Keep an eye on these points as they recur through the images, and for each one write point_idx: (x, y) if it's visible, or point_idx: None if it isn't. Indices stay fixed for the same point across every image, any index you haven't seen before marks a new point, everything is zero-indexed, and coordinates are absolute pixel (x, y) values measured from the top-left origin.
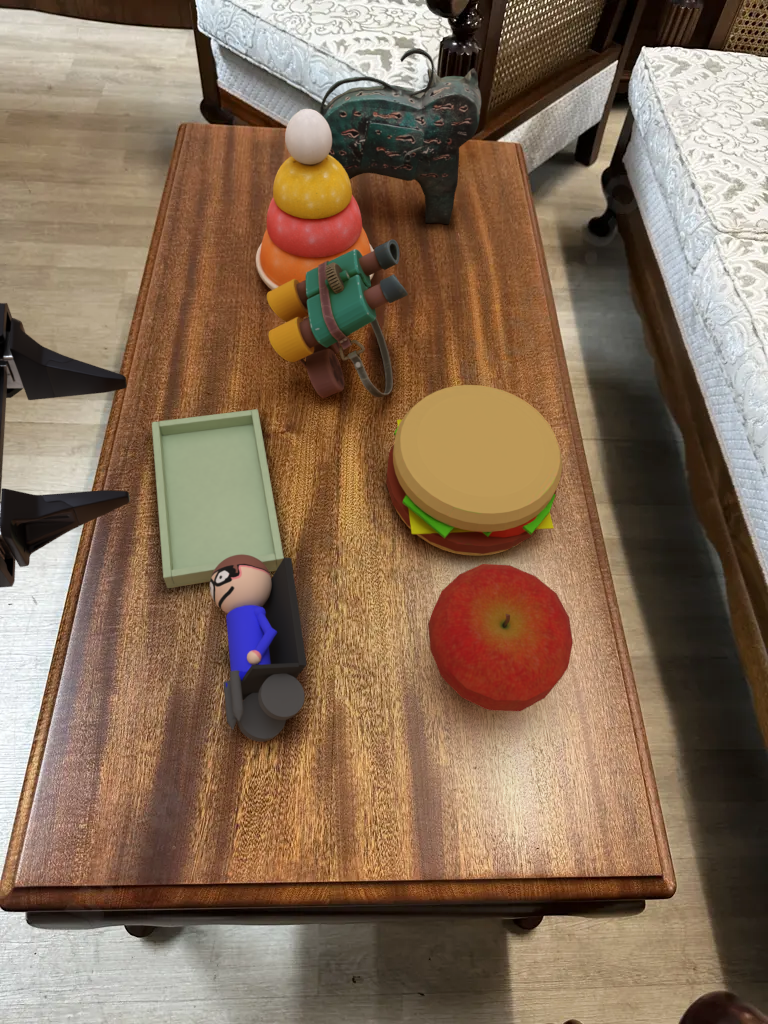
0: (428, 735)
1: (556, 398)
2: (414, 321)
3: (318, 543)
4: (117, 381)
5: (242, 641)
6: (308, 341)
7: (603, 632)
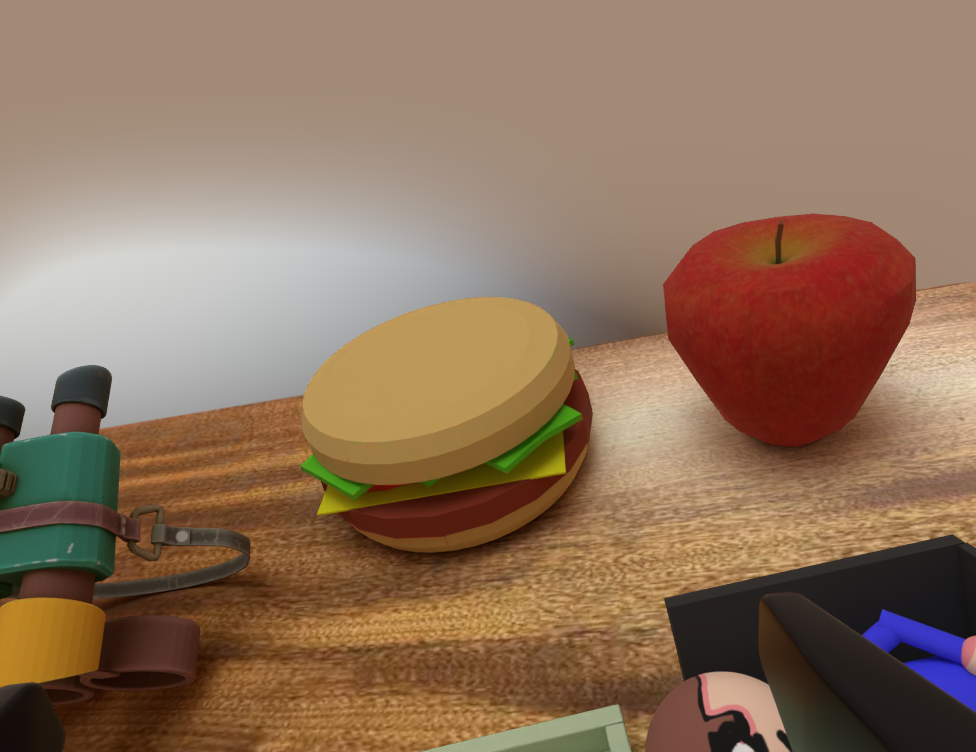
0: (935, 471)
1: None
2: None
3: (556, 671)
4: (19, 722)
5: None
6: (78, 596)
7: None
